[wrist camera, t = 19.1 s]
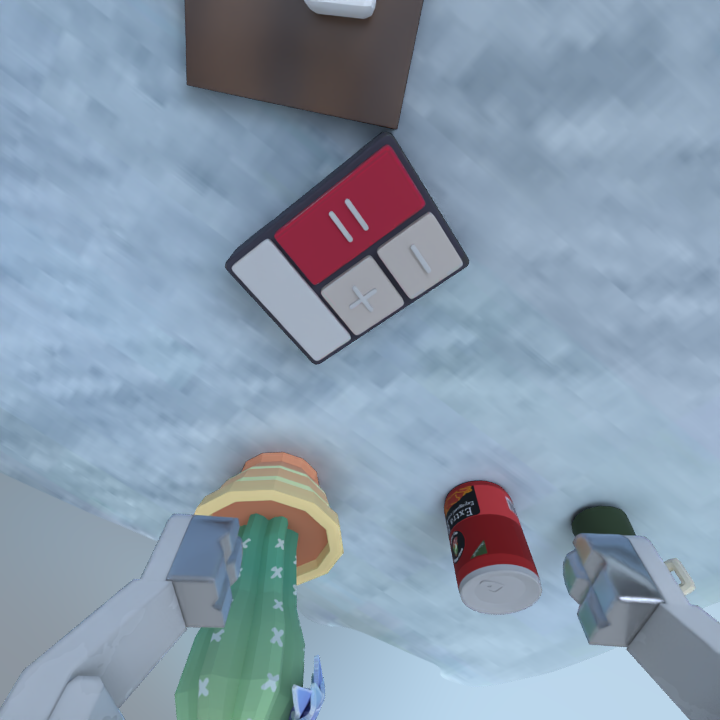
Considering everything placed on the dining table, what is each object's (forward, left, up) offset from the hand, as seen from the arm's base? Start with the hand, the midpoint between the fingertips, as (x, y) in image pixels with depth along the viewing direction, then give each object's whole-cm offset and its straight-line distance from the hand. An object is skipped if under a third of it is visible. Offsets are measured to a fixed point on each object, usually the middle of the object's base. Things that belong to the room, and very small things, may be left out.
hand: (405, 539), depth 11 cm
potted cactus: (-5, -30, -28) cm, 41 cm away
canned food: (+18, -29, -28) cm, 44 cm away
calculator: (-2, -2, -28) cm, 28 cm away
